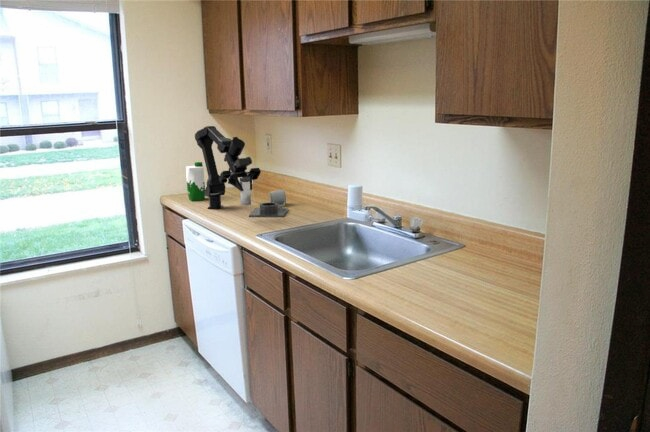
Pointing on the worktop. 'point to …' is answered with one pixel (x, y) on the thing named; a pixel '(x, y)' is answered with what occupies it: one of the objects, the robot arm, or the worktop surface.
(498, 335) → the worktop surface
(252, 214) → the firebox collar
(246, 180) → the black capped shaker
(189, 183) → the milk carton
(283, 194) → the ceramic mug
